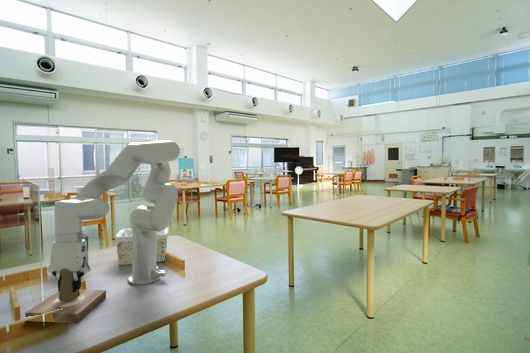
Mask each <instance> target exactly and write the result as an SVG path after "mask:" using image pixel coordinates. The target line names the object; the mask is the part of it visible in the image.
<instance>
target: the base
mask: <svg viewBox="0 0 530 353" xmlns="http://www.w3.org/2000/svg"><path fill="white" fill-rule="evenodd" d="M79 291H80V296H79V297H77V298H75V299H73V300H69V301H60V300H59V292H58V291H57V292H55V293H53V294H52V295H51V296H49V297H47V298H45V299H44V300H43V301H41V302H40V303H38V304H37V305H34V306H33V307H32V308H30V309H29V310H27V311H26V312H25V313H24V318H25V317H28V316H35V315H41V314H44V313H47V312H50V311H55V310H57V309H61V308H63V309H62V310H58V311H55V312H54V313H52V314H53V319H54V320H55V323H54V324H78V323H79V322H81V321H82V320H83V319H84V318H85V317H86V316H87V315H89V314H90V313H91V312H92V311H93V310H94V309H96V308H97V307H98V306H99V305H100V304H101V303H102V302H104V301H105V299H107V290H106V289H81V288H80V289H79Z"/></svg>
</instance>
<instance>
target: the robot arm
mask: <svg viewBox="0 0 530 353" xmlns="http://www.w3.org/2000/svg"><path fill="white" fill-rule="evenodd" d="M180 153H181V149H180V146H179V145H178V144H177V143H176V142H175V141H172V140H151V141H149V142H148V141H147V142H143V141H142V142H138V141H137V142H130V143H128V144H126V146H124V147H123V149H122V150H120V152H119V153H118V155H116V157H115V158H114V160H113V161H112V162H111V164H109V166H108V167H107V168H106V169H105V170H104V171H102V172H101V173H99V174H98V175H97V176H95V177H94V178H92V179H91V180H89V181H88V182H87V183H86V184H85V185H84V186H83V187H82V188H81V189H80V191H79V192H78V193H77V195H75V197H74V199H62V200H58V201H56V202H55V204H54V207H53V208H54V212H53V213H54V241H53V242H52V246H51V253H50V264H49V266H48V267H47V269H46V270H47V272H49V273H50V274H52V276H54V277H55V280H56V281H57V290H58V291H57V292H60V285H61V278H62V276H61V275H60V270H61V269H63V268H66V269H68V270H70V271H71V272H73V277H74V280H73V281H72V287H73V292H76V290H77V289H78V290H79V289H81V287H82V277H83V276H85V275H86V274H87V273H89V272H90V271H92V268H91V267H90V265H89V250H88V251H87V245H86V242H85V239H83V238H85V236H87V235H86V233H83V221H85V220H86V221H87V220H88V221H89V220H91V221H93V220H94V221H95V220H100V219H102V218H105V217H106V216H107V215H108V213H109V212H110V204H109V203H108V202H107V200H105V199H103V198H101V197H103V196H104V194H106V193H107V192H109V191H111V190H113V189H115V188H118V187H120V186H123V185H125V184H126V183H128V182H129V180H130V179H131V177H132V176H133V174H134V173H135V172H136V171H137V169H138V168H139V166H140V165H150V172H149V174H148V178H147V180H146V182H145V184H144V188H143V191H142V198H143V200H144V201H145V202H146V203H149V204H153V205H154V206H151V205H138V206H136V207H134V208H133V209H132V210H131V213H130V216H129V221H130V222H129V223H130V228H132V236H133V244H132V264H131V265H132V266H131V271H132V272H131V273H132V274H131V275H130V276H129V277H128V278H127V279H128V280H127V282H128V284H131V285H133V286H144V285H145V284H146V285H150V284H153V283H155V281H156V282H157V281H159V280H160V279H161V277H163V278H164V277H166V275H167V272H166V270H165V269H162V270H161V269H160V267H159V266H158V265H157V263H158V262H157V235H156V231H158V232H159V231H163V230H164V229H166V228H167V227H169V225H170V223H171V220H172V217H173V214H174V211H175V208H176V205H177V202H178V199H179V193H178V189H177V187H176V186H175V185H174V184H172V183H170V182H169V181H170V177H171V172H172V171H171V166H170V163H169V162H173V161H176V160H177V159H178V157H179V156H180ZM81 267H83V268H84V269H83V270H82V269H81ZM158 279H159V280H158ZM152 282H153V283H152ZM149 283H150V284H149Z"/></svg>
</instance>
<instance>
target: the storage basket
mask: <svg viewBox="0 0 530 353" xmlns="http://www.w3.org/2000/svg"><path fill="white" fill-rule="evenodd" d="M169 231H170V230H169V226H167V228H166V229H164V230H163V231H159V232H158V231H156V235H157V263H160V262H161V261H162V262H165V261H166V259H165V252H166V253H167V249H168V237H169ZM114 238H115V239H114V241H115V243H116V255H117V265H119V266H126V265H132V244H133V236H132V228H131V227H130V228H125V227H123V228H121V229H120V230H119V231H118V232H117V233H116V235H115V236H114ZM164 260H165V261H164ZM162 262H161V263H162Z"/></svg>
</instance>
